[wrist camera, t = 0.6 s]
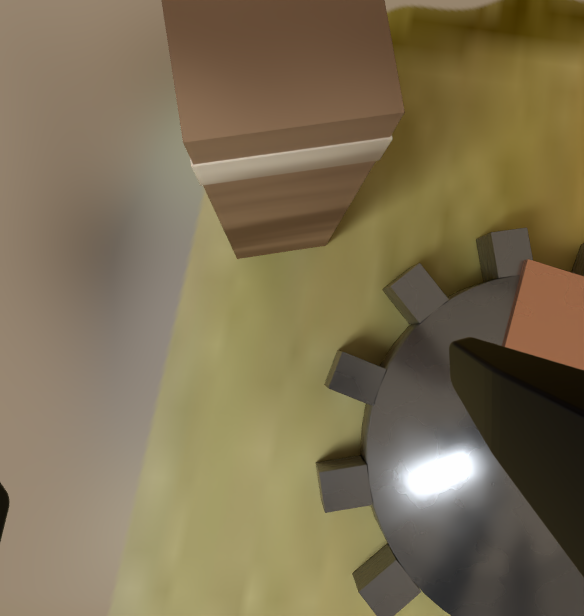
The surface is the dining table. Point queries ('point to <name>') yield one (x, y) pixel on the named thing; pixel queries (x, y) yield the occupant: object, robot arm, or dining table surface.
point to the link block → (282, 110)
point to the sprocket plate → (456, 445)
